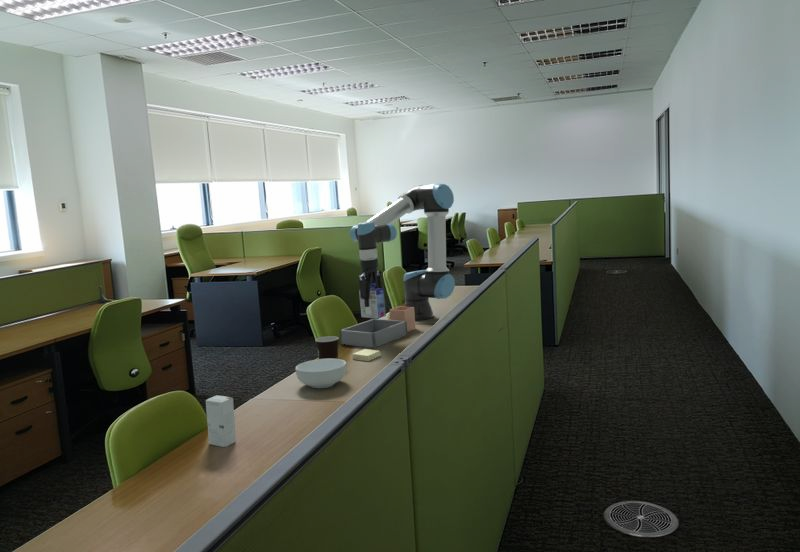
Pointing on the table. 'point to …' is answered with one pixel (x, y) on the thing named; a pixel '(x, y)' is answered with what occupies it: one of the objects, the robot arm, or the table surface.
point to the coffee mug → (327, 347)
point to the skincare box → (220, 421)
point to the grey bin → (373, 332)
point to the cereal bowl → (321, 372)
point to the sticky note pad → (366, 354)
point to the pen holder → (404, 316)
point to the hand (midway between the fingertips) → (373, 312)
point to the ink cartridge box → (374, 303)
